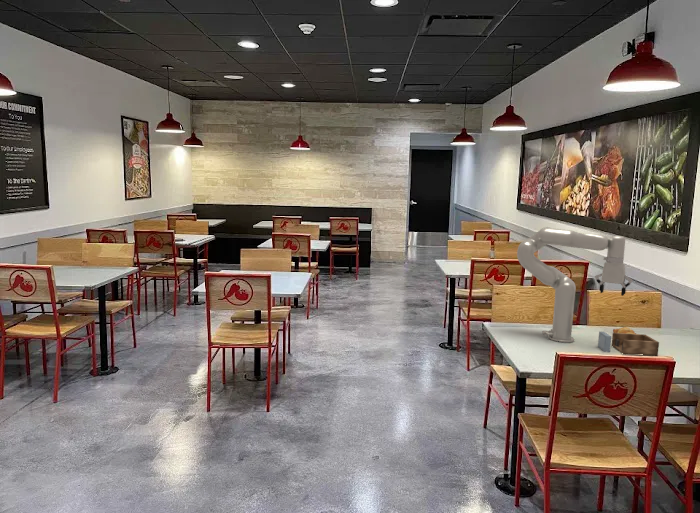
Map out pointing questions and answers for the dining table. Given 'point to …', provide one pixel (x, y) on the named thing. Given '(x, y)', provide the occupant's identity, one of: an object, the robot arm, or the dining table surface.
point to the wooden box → (635, 344)
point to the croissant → (624, 330)
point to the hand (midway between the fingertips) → (612, 293)
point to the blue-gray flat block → (604, 341)
